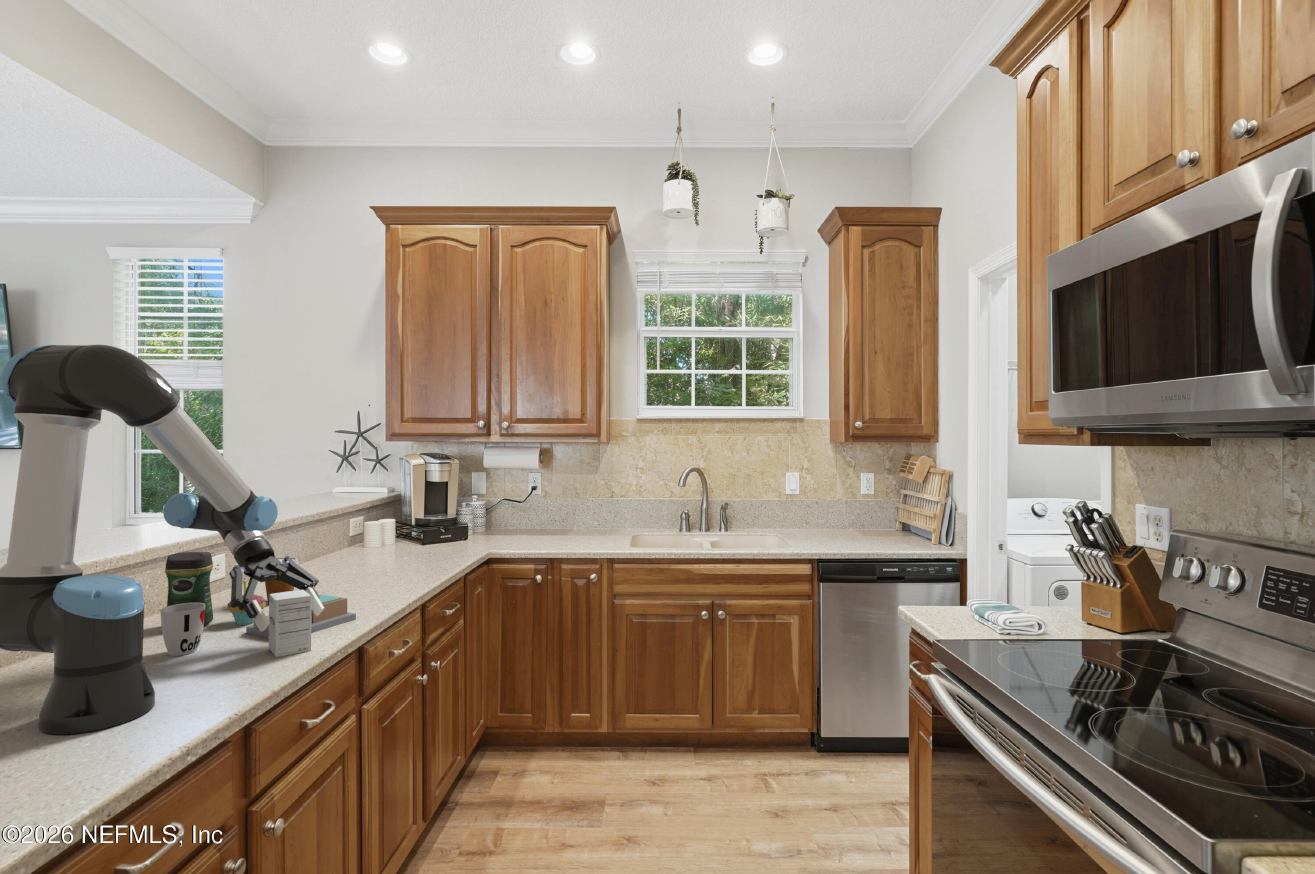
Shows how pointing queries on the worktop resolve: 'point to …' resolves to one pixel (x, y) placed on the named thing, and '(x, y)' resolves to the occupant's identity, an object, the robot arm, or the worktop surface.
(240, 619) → the cupcake
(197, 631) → the cup
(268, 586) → the disposable coffee cup
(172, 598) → the coffee jar
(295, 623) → the supplement box
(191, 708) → the worktop surface
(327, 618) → the build base
